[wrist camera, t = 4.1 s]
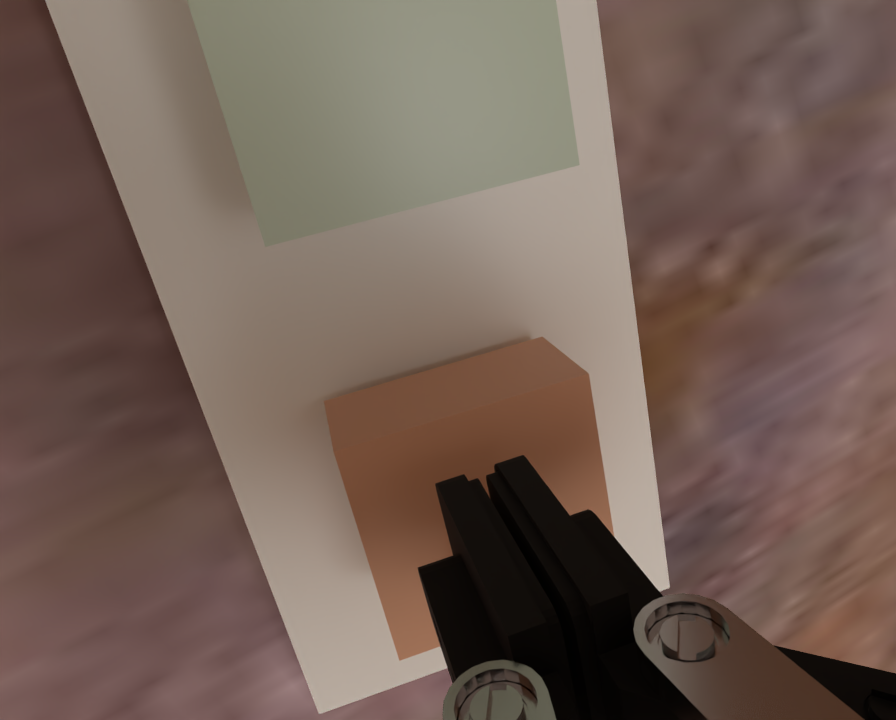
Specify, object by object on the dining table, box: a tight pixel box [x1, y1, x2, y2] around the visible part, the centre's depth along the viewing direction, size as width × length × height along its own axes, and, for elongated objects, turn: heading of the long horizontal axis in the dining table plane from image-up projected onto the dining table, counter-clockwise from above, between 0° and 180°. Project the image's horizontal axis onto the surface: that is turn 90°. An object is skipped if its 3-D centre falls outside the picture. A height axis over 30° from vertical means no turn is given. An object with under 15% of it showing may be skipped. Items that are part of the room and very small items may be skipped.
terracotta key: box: [324, 337, 614, 661], centre depth 15 cm, size 5×5×2 cm
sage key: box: [187, 0, 580, 247], centre depth 11 cm, size 5×5×2 cm
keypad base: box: [45, 0, 670, 714], centre depth 14 cm, size 30×10×2 cm, turn 13°
